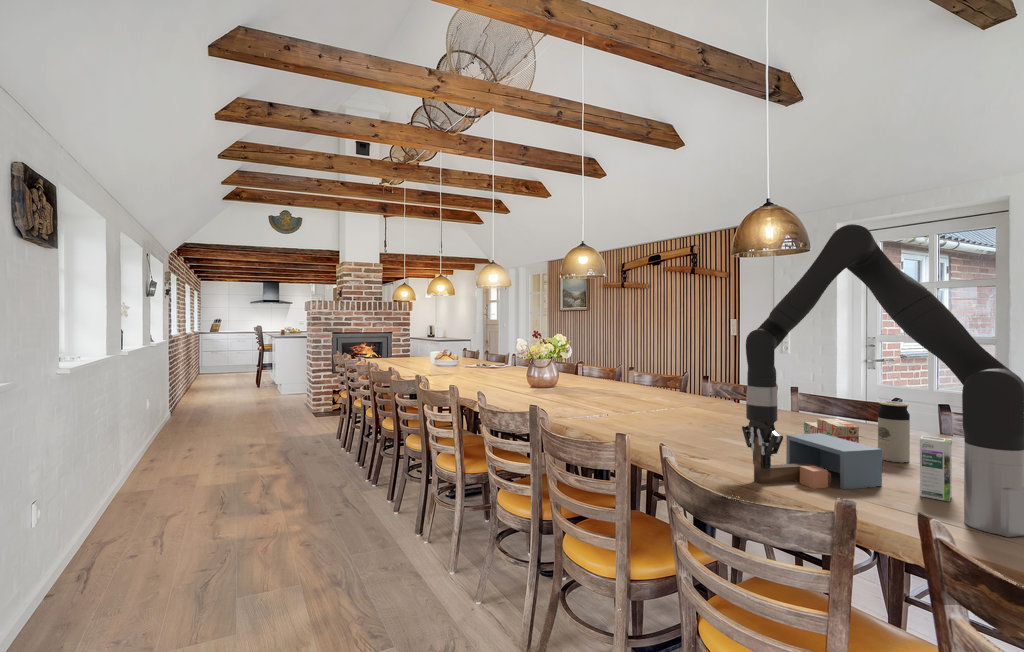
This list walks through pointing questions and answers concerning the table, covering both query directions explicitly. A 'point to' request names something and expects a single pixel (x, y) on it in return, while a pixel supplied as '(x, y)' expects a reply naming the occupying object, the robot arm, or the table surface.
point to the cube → (814, 476)
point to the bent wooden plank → (777, 469)
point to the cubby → (838, 458)
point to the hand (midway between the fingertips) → (761, 466)
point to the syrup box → (936, 468)
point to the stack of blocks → (833, 429)
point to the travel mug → (894, 431)
